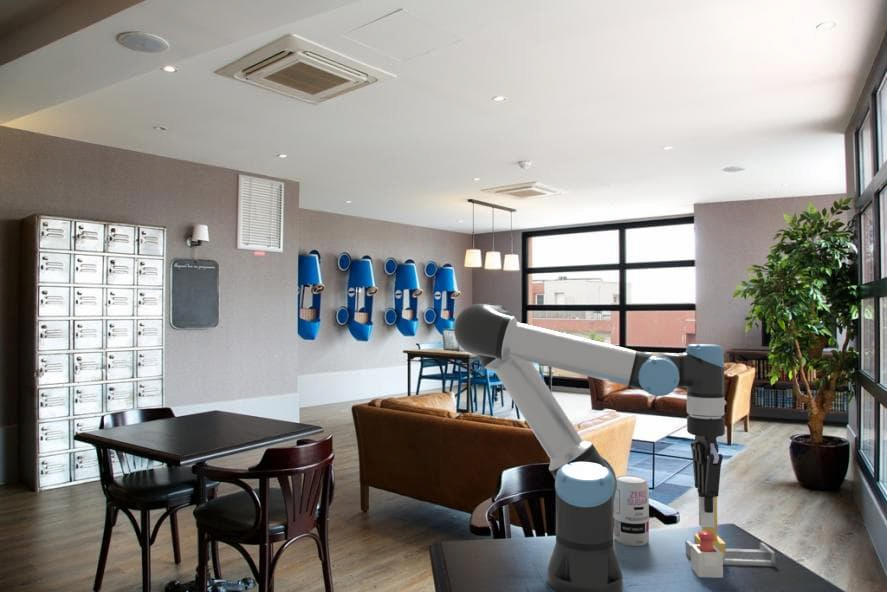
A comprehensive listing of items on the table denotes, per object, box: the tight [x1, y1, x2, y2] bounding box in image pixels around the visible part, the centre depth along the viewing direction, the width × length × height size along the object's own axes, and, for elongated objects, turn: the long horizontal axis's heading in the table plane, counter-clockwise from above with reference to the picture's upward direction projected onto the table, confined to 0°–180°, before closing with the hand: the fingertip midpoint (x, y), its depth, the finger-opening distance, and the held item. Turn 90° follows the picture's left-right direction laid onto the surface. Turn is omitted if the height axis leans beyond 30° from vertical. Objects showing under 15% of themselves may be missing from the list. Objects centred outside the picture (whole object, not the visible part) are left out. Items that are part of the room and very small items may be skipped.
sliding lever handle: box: [693, 497, 727, 557], centre depth 141 cm, size 5×6×15 cm
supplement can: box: [613, 474, 650, 547], centre depth 152 cm, size 8×8×15 cm
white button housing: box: [690, 543, 724, 579], centre depth 134 cm, size 5×5×5 cm
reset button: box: [697, 530, 715, 552], centre depth 134 cm, size 3×3×5 cm
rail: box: [685, 540, 776, 567], centre depth 141 cm, size 17×6×3 cm, turn 86°
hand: (706, 525), depth 134 cm, fingers closed
